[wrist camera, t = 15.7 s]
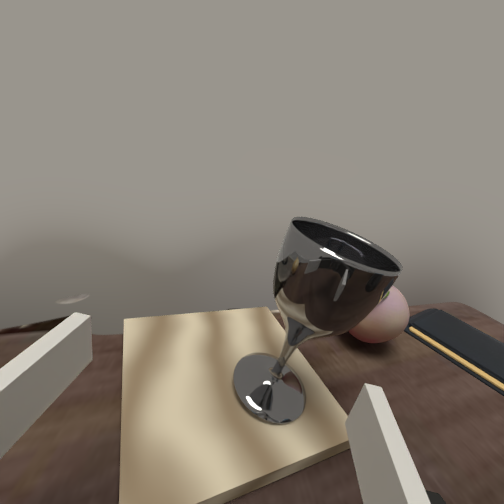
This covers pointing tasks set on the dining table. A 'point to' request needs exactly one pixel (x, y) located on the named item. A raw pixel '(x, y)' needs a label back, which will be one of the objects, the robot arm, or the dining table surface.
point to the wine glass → (313, 308)
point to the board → (211, 411)
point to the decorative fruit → (384, 319)
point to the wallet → (461, 345)
